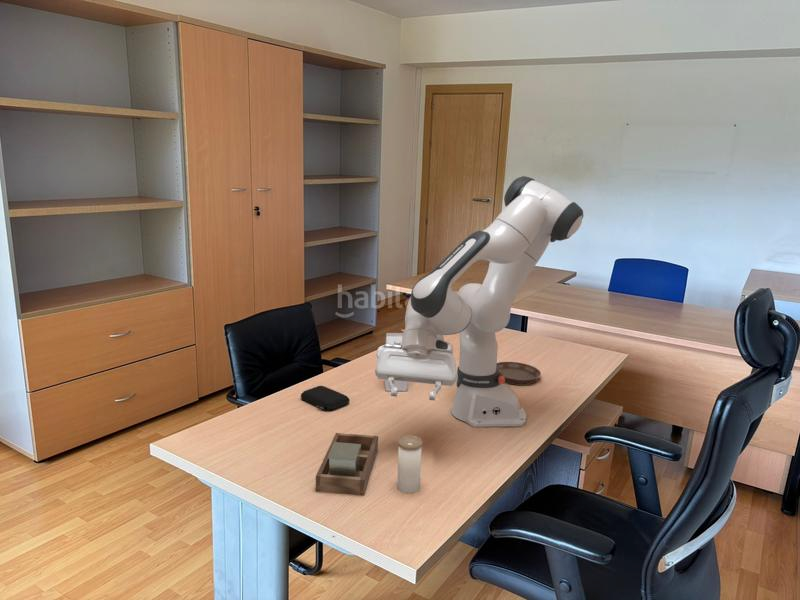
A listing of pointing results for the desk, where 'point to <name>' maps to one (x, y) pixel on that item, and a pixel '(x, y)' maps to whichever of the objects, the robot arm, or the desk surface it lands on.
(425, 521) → the desk surface
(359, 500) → the desk surface
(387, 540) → the desk surface
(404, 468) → the lidded white canister
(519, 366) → the plant saucer
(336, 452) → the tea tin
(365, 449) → the crate
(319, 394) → the carrying case or bag
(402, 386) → the milk carton
